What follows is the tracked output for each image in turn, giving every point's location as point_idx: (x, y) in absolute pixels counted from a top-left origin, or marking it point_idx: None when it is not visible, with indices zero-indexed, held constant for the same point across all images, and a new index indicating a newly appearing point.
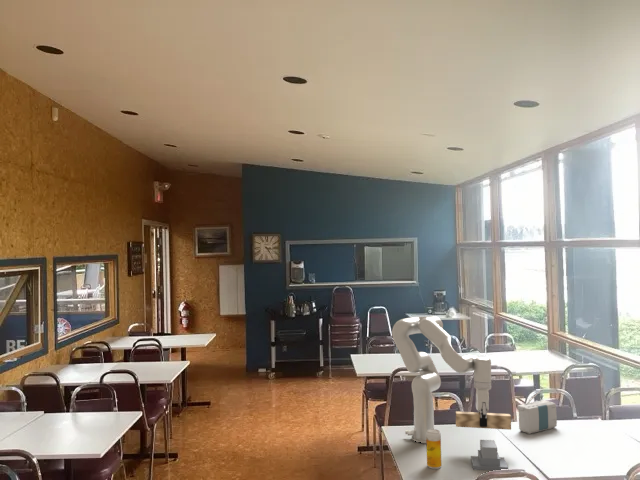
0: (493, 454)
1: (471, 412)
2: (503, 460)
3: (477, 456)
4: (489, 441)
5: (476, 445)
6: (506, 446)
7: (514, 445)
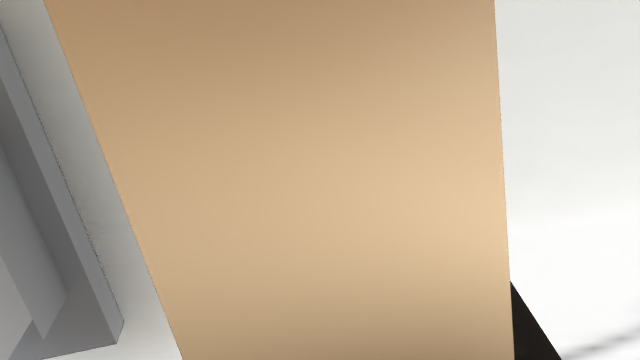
0: None
1: (444, 205)
2: (22, 349)
3: (1, 104)
4: None
5: (526, 20)
6: (543, 298)
7: (582, 351)
